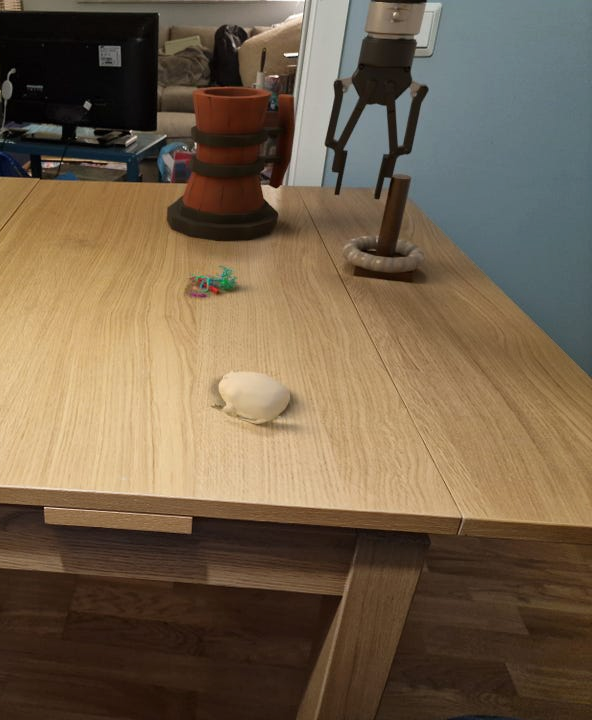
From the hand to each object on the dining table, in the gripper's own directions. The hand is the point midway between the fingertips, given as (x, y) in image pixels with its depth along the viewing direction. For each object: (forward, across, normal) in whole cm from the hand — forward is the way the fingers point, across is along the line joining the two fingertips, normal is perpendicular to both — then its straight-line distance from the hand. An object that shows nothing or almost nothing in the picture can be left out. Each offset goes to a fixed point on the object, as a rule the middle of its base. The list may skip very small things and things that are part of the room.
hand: (356, 194), depth 107 cm
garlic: (+13, -9, -49) cm, 51 cm away
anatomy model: (+13, -20, -20) cm, 31 cm away
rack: (+12, +6, 0) cm, 14 cm away
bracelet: (+9, +6, 0) cm, 11 cm away
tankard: (+13, -22, +17) cm, 31 cm away
